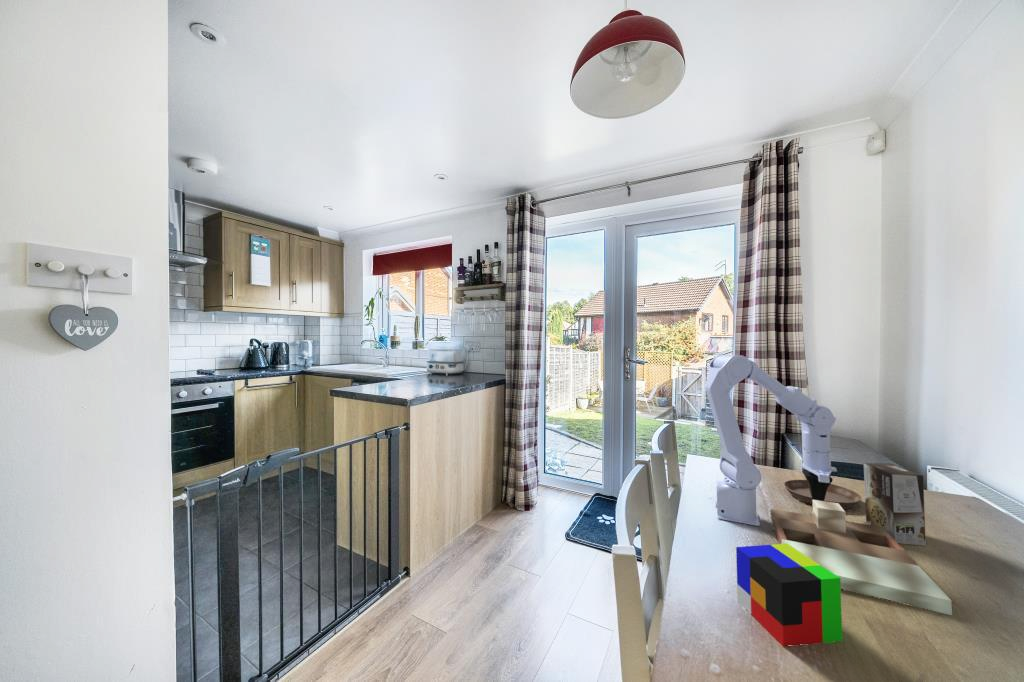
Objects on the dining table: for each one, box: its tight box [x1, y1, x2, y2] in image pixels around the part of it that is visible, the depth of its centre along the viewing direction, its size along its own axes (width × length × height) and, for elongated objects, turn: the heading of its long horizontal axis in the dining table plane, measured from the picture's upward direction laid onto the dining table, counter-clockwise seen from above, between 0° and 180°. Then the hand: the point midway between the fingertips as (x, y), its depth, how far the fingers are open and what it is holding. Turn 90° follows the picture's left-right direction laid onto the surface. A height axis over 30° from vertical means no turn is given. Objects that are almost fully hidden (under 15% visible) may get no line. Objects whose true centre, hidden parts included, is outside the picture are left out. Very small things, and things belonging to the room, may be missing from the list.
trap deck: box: [769, 508, 953, 616], centre depth 79 cm, size 22×28×2 cm
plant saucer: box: [783, 479, 863, 510], centre depth 108 cm, size 18×18×3 cm
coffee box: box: [863, 462, 927, 546], centre depth 88 cm, size 9×6×16 cm
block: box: [812, 500, 847, 533], centre depth 87 cm, size 5×5×5 cm
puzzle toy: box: [735, 543, 843, 648], centre depth 61 cm, size 10×10×10 cm
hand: (817, 500), depth 96 cm, fingers closed
